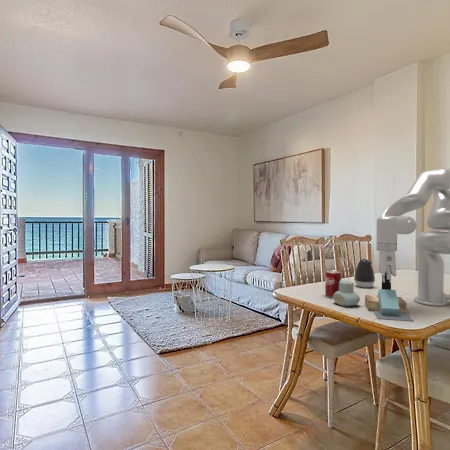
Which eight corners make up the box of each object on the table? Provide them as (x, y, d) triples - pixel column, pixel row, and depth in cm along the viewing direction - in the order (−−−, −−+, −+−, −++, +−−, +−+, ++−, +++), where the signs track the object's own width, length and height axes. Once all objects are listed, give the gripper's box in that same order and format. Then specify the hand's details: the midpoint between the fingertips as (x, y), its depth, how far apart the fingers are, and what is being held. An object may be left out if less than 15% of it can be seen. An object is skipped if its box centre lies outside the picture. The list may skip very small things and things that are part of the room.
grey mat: (406, 313, 129) (406, 312, 129) (413, 321, 119) (413, 320, 119) (373, 311, 132) (373, 310, 132) (377, 318, 122) (377, 318, 122)
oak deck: (400, 306, 139) (400, 296, 139) (406, 313, 129) (406, 303, 129) (365, 304, 143) (365, 294, 143) (368, 310, 133) (368, 300, 133)
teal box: (394, 296, 132) (395, 289, 130) (398, 315, 126) (399, 309, 123) (377, 295, 134) (379, 289, 131) (381, 314, 127) (382, 308, 125)
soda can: (330, 299, 152) (330, 273, 151) (322, 295, 159) (322, 270, 158) (344, 298, 153) (344, 272, 153) (336, 294, 160) (336, 270, 160)
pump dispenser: (363, 289, 170) (363, 260, 169) (350, 285, 180) (350, 258, 179) (379, 288, 172) (379, 259, 172) (366, 284, 182) (366, 257, 182)
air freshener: (330, 302, 145) (330, 280, 145) (344, 300, 149) (344, 278, 148) (348, 309, 135) (348, 285, 135) (363, 306, 139) (363, 283, 138)
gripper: (401, 249, 123) (400, 297, 124) (393, 245, 138) (392, 288, 138) (379, 248, 126) (379, 295, 126) (373, 245, 140) (373, 287, 141)
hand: (386, 292), depth 132 cm, fingers closed
